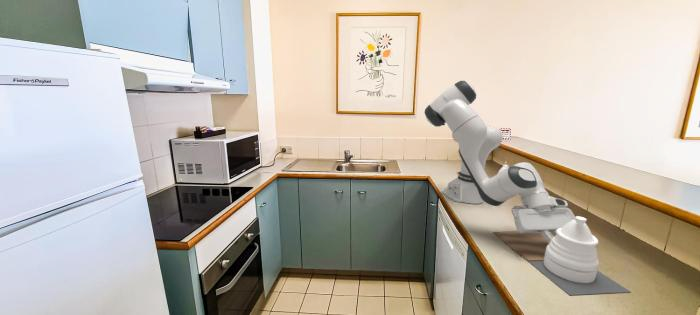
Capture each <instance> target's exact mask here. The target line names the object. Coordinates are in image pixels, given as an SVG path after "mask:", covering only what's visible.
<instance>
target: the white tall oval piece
mask: <svg viewBox="0 0 700 315" xmlns="http://www.w3.org/2000/svg"><path fill="white" fill-rule="evenodd" d="M508 167H509V165H507V162H505V163H504V164H503V165H502V167H501V168H500V169H499V170H498V172H497V174H498V173H500V172H501V171H503V170H505V169H506V168H508Z"/></svg>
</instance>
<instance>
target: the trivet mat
mask: <svg viewBox="0 0 700 315" xmlns="http://www.w3.org/2000/svg"><path fill="white" fill-rule="evenodd" d="M528 263H529V264H531V266H533V267H534V268H535V269H537V270H538V271H539V272H540V273H541V274H542V275H543V276H545V277H546V278H547V279H549V280H550V281H551V282H552V283H554V285H556V287H559V288H560V289H561V290H562V291H564V293H566V294H567V295H568V296H571V297H572V296H589V295H591V296H592V295H606V294H607V295H608V294H609V295H610V294H624V293H625V294H626V293H631V291H630V290H629V289H627V288H626V287H624V286H623V285H621V284H620V283H618V282H616V281H615V280H614V279H612V278H610V277H609V276H608V275H605V274H604V273H602V272H601V271H599V270H598V269H597V274H596V278H595V280H594V281H593V282H590V283H578V282H573V281H569V280H567V279H564V278H561V277H559V276H557V275H555V274H554V273H552V272H551V271H549V270H548V269H547V268H546V267H545V265H544V263H543V261H529V262H528Z"/></svg>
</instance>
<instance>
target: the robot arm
mask: <svg viewBox="0 0 700 315" xmlns="http://www.w3.org/2000/svg"><path fill="white" fill-rule="evenodd" d="M476 98H477V92H476V89H475V88H474V85H472V84H471V83H470V82H468V81H466V80H459V81H457V82H456V83H454V85H452V86H451V87H449V88H447V89H446V90H445V91H443V92H442V93H441V94H440V95H439V96H437V98H435V99H434V100H433V101H432V102H431V103H430V104H429V105H427V106H426V108H425V109H424V116H425V119H426V121H427V122H428V123H429V124H430V125H431V126H432V125H433V126H434V127H435V128H436V127H437V128H438V127H442V126H445V125H447V126H448V128H449V129H450V131H451V137H452V140H453V141H454V142H455V143H457V144H458V154H459V158H460V159H461V167H460V171H456V175H457V177H456V178H455V179H452V180H451V181H449V182H448V183H447V186H446V189H443V190H441V192H442V194H444V196H447V197H448V198H450V199H451V200H453V201H454V202H458V203H466V204H472V205H473V204H475V205H476V204H478V205H479V204H483V203H486V204H487V205H489V206H492V207H500V206H501V205H503V204H504V203H506V202H507V201H509V200H510V199H512V198H515V197H516V196H519V197H520V203H521V204H522V205H514V206H512V208H511V213H512V215H513V219H514V224H515V228H516V231H519V232H520V233H539V232H540V233H541V235H542V236H543V237H544V238H545V239H546V240H547V241H548V243H549V244H550V242H551V241H552V238H553V237H555V235H556V234H557V233H556V230H557V229H559V228H562V227H563V226H564V225H566V224H567V223H568V222H570V221H572V220H575V217H576V216H575V214H574V213H573V211H572V209H570V208H569V207H568V206H569V204H568V201H566V200H565V199H561V198H557V197H553V196H550V194H549V192H548V191H547V190H546V188H545V185H544V181H543V180H542V178H541V176H540V174H539V172H538V171H537V169H536V168H535V166H533V164H531V163H530V162H525V161H524V162H518V163H516V164H514V165H511V166H508V168H506V169H505V170H503V171H501V172H500V173H498V172H497V174H495V175H494V176H492V177H489V176H488V174H487V173H486V171H485V170H486V169H485V168H486V163H487V159H488V157H489V155H490V153H491V152H492V151H493V150H495V149H497V148H499V146H501V144H502V142H503V138H504V137H503V133H502V130H501V129H499V128H497V127H494V126H491V125H486V123H485V121H484V120H483V119H482V118H481V116H480V115H478V113H477V112H476V111H475V110H474V109H473V107H471V106H470V104H473V102H475V100H476ZM550 233H551V235H552V236H551V235H550Z"/></svg>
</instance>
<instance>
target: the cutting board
mask: <svg viewBox="0 0 700 315" xmlns="http://www.w3.org/2000/svg"><path fill="white" fill-rule="evenodd" d="M493 234H494V235H495V236H496V237H497V238H499V239H500V240H502V241H503V243H505V245H507V246H509V248H511V250H513V251H515V252H516V253H517V254H518V255H519V256H521V258H523V259H525V261H527V263H529V261H544V256H545V251H546V248H547V245H549V243H548V241H547V240H546V239H545V238H544V237H543V236H542V235H541V233H540V232H539V233H520V232H519V231H518V230H508V231H503V230H502V231H493Z"/></svg>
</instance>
